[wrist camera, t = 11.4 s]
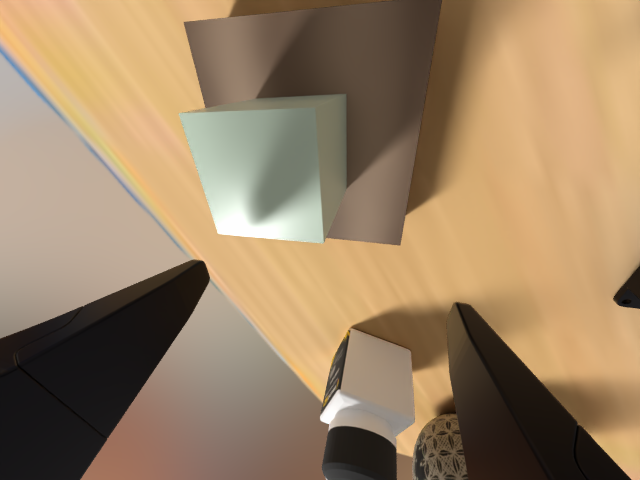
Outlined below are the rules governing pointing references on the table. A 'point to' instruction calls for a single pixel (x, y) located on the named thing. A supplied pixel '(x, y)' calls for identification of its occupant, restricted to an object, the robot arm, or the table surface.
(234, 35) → the walnut block
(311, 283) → the table surface
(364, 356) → the medicine bottle
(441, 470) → the decorative egg
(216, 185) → the sage pill box
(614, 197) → the table surface
